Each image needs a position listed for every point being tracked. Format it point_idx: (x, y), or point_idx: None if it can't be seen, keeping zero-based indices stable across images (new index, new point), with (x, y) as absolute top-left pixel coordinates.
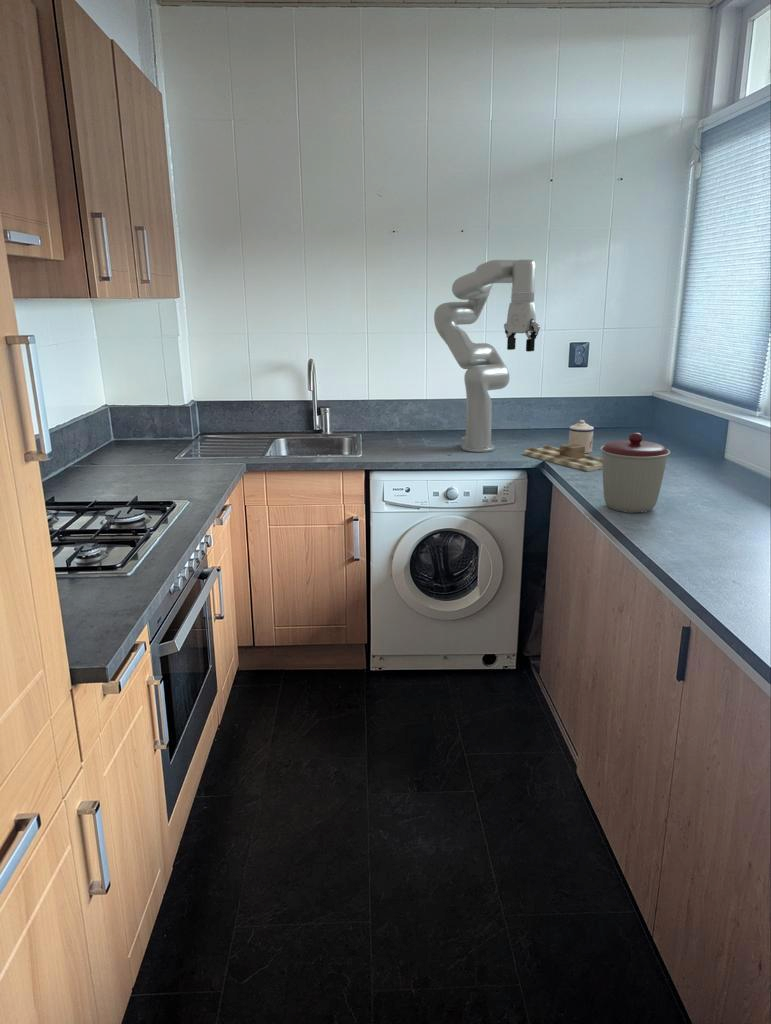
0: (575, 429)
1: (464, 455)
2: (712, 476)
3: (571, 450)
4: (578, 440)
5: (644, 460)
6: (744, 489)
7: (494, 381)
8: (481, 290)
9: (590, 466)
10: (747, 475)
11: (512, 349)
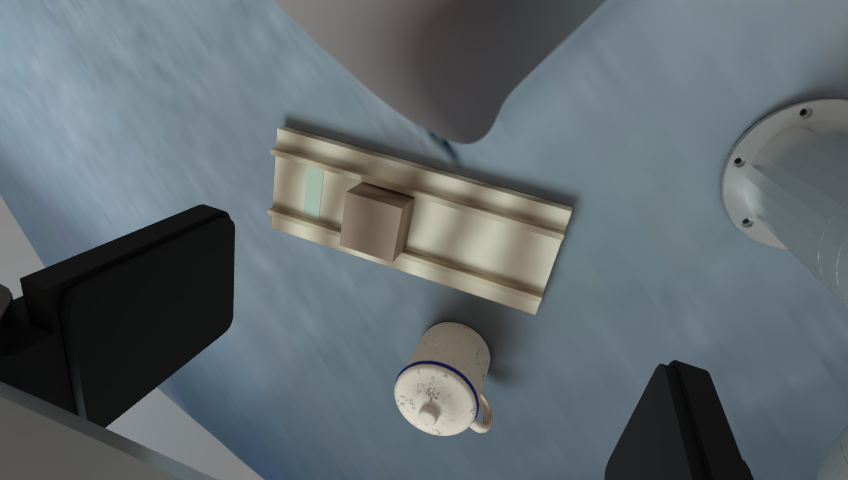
0: (432, 365)
1: (794, 18)
2: None
3: (352, 190)
4: (430, 344)
5: None
6: (29, 205)
7: None
8: None
9: (279, 141)
10: None
11: (632, 430)
